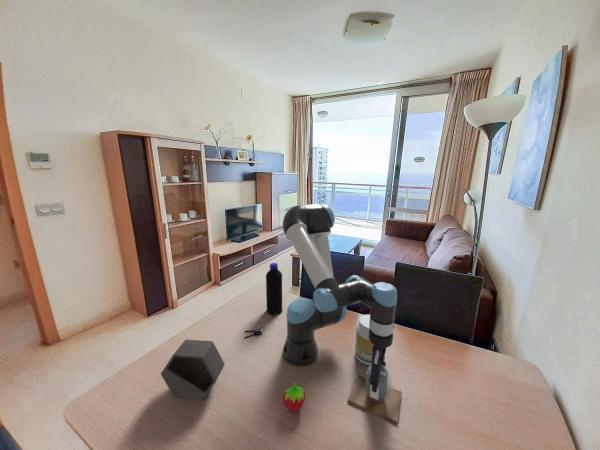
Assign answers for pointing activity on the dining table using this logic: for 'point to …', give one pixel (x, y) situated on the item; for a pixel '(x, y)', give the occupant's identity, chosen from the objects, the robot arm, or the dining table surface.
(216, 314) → the dining table surface
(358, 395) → the stud board
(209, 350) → the planter
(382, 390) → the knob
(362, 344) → the supplement tub
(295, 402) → the strawberry
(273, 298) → the bottle
